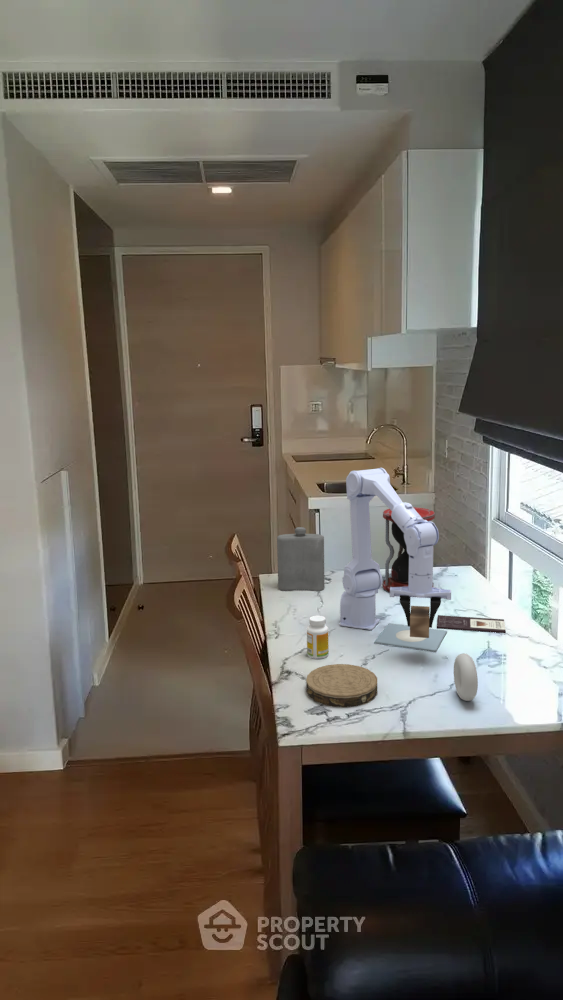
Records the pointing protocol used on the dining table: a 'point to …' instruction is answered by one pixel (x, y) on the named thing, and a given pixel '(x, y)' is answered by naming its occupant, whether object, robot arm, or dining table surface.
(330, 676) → the wooden log slice
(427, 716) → the dining table surface
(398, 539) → the hourglass
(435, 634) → the rubber mat
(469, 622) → the chocolate bar
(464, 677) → the donut
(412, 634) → the walnut block
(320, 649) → the supplement bottle
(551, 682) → the dining table surface
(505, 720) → the dining table surface
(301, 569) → the flask
